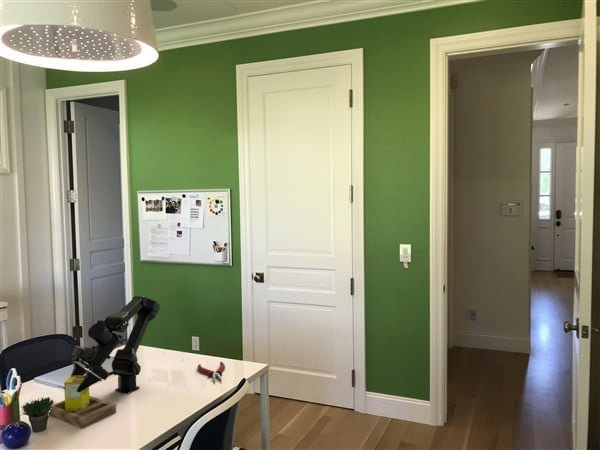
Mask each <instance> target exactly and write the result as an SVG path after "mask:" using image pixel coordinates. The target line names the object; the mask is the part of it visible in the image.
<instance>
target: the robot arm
mask: <svg viewBox="0 0 600 450" xmlns="http://www.w3.org/2000/svg"><path fill="white" fill-rule="evenodd" d="M160 308H161V307H160V304H159V303H158V301H157V300H154V299H151V298H148V297H147V296H144V295H135V296H133V297H132V299H131V300H130V301H129V302H128V303H127V304H126V305H125V306H123V308H122V309H120V310H119V311H117V312H114V313H111V314H110V315H107V316H106V318H105V319H104V320H99V319H98V320H97V322H96V323H95V324H93V325H91V327H90V328H88V331H87V335H88V336H89V338H90V339H92V340H93V341H94V342H95V343H96V345H91V346H90V347H87V346H85V347H84V346H80V345H75V346H74V347H73V351H72V353H71V356H72V358H71V359H72V360H73V361H72V364H73V369H72V371H71V374H70V376H69V378H70V377H71V376H84V375H86V376H85V378H84V379H83V381H82V382H81V384H80V385H79V387H78V389H77V392H81V391H83V390H84V389H86V388H88V387H89V388H90V387H91V386H93V385H95V384H96V383H97V384H98V383H99V382H102V381H103V380H104V381H106V380H107V379H108V377H109V376H110V375H109V374H110V373H109V371H108V370H107V369H106V368H104V367H103V366H102V365H103V364H104V363H105V362H106V361H107V360H110V359H111V358H112V357H111V356H110V355H111V354H112V353H113V351H114V350H115V349H116V347H117V346H118V345H119V344H120V345H123V344H124V343H123V342H124V340H123V336H122V335H120V334H116V333H124V332H125V331H126V330H127V328H128V327H129V326H130V324H129V323H130V320H132V318H133V317H134V316H135V315H136V316H137V318H136V319H135V322H134V324H133V327H132V328H131V331H130V334H129V336H128V339H127V340H126V343H125V345H124V347H123V348H122V349H121V348H119V349H117V350H116V352H115V354H114V356H113V360H112V362H111V370H112V372H113V376H118V377H117V387H118V388H115V392H119V393H122V394H125V395H127V394H129V393H132V392H134V391H137V390H139V389H140V388H141V387H140V386H137V376H139V375H140V373H141V369H142V368H141V365H140V364H139V362H138V361H139V359H138V355H137V352H138V350H139V347H140V344H141V342H142V340H143V337H144V335H145V333H146V330H147V328H148V325H149V324H150V323H149V322H151V321H152V320H154V319H155V318H156V317H157V315H158V313H159V312H160Z"/></svg>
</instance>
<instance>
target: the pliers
mask: <svg viewBox="0 0 600 450" xmlns="http://www.w3.org/2000/svg"><path fill="white" fill-rule="evenodd" d="M225 369H226V365H225V363H224V362H223V361H220V362H219V367H218V368H217V369H216V370H211V369H208V368H205V367H203V366H202V365H201V363H199V364H198V365H197V371H198V372H199V373H200V374H202V375H206V376H207V377H208V378H212V381H213V382H214V383H216V379H217V380H218V381H221V382H223V380H222V376H223V372H224V370H225Z"/></svg>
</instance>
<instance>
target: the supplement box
mask: <svg viewBox="0 0 600 450" xmlns="http://www.w3.org/2000/svg"><path fill="white" fill-rule="evenodd" d="M70 376H71V375H70ZM70 376H69V378H67V379H66V380H65V381H64V383H63V384H64V385H63V386H64V389H63V390H64V400H65V410H67V411H69V412H72V413H74V412H76V411H79V410H81V409H83V408H86V407H88V406H89V405H90V399H89V396H90V386H89V387H88V388H86V389H84V390H83V391H81V392H77V389H78V387H79V385H80V384H81V382H82V381H83V379H84V378H85V376H86V374H84V375H83V376H71V377H70Z"/></svg>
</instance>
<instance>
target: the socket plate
mask: <svg viewBox="0 0 600 450" xmlns="http://www.w3.org/2000/svg"><path fill="white" fill-rule="evenodd" d="M89 399H90V405H89V406H88V407H86V408H83V409H81V410H79V411H76V412H74V413H72V412H69V411H67V410H65V399H64V400H62V401H59V402H56V403H55V404H53V405H54V406H53V407H52V409H51V410H50V412H49V416H48V417H50V418H53V419H55V420H58V421H61V422H63V423H67V424H70V425H72V426H74V427H78V428H80V429H84V428H86V427H88V426H91V425H93V424H95V423H97V422H99V421H101V420H103V419H105V418H108V417H109V416H112V415H114V414H116V413H117V403H113V402H112V401H107V400H105V399H101V398H98V397H95V396H91V395H89Z"/></svg>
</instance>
